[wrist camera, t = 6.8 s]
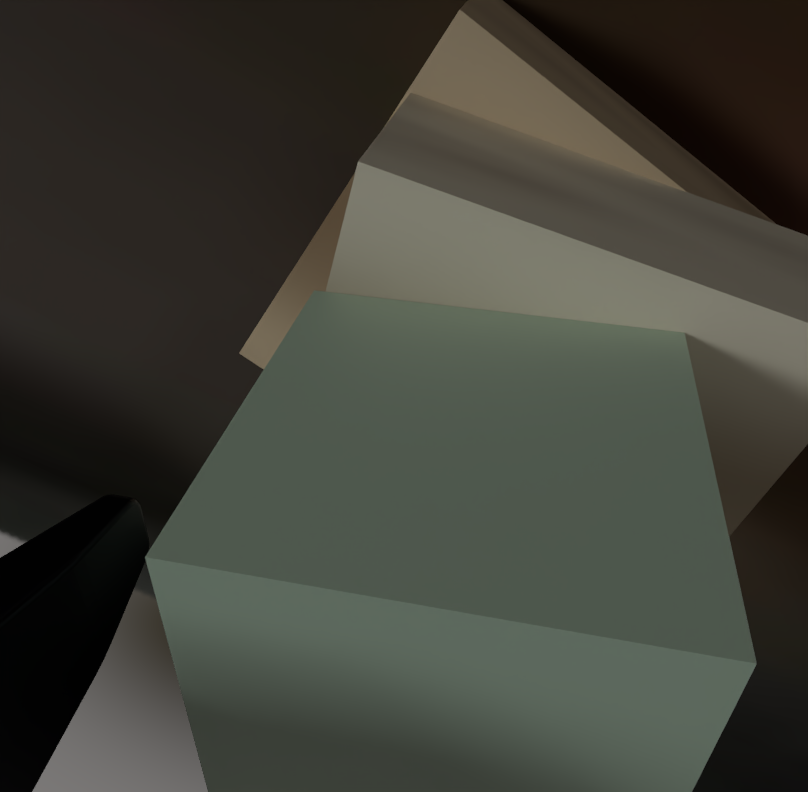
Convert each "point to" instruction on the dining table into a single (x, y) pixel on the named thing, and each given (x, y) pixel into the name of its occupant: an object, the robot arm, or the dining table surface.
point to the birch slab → (591, 267)
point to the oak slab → (516, 109)
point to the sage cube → (456, 562)
